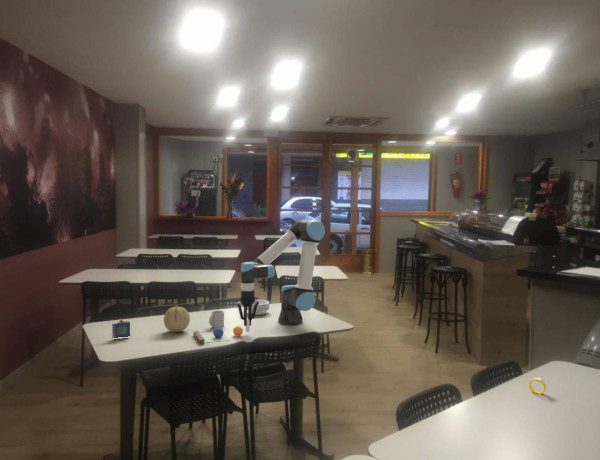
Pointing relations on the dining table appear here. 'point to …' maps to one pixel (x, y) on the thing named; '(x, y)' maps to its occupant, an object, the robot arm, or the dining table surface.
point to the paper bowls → (261, 307)
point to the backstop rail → (199, 337)
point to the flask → (121, 329)
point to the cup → (217, 319)
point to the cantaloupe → (176, 319)
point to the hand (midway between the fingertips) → (247, 331)
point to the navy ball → (218, 332)
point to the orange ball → (238, 331)
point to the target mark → (214, 338)
